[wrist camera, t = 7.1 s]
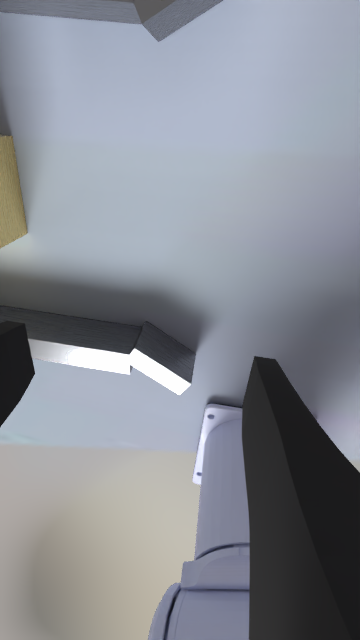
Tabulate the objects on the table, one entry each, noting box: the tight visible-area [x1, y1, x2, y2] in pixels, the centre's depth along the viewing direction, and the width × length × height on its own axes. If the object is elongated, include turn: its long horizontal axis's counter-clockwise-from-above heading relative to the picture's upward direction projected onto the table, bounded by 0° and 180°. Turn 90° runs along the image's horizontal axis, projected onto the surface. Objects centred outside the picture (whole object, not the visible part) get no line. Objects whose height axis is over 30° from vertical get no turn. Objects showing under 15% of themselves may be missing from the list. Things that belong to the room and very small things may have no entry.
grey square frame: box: [0, 0, 223, 395], centre depth 17 cm, size 20×19×3 cm
